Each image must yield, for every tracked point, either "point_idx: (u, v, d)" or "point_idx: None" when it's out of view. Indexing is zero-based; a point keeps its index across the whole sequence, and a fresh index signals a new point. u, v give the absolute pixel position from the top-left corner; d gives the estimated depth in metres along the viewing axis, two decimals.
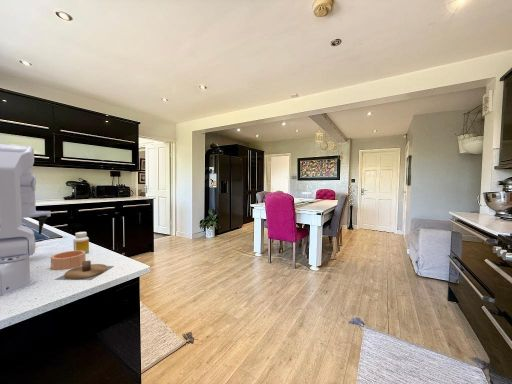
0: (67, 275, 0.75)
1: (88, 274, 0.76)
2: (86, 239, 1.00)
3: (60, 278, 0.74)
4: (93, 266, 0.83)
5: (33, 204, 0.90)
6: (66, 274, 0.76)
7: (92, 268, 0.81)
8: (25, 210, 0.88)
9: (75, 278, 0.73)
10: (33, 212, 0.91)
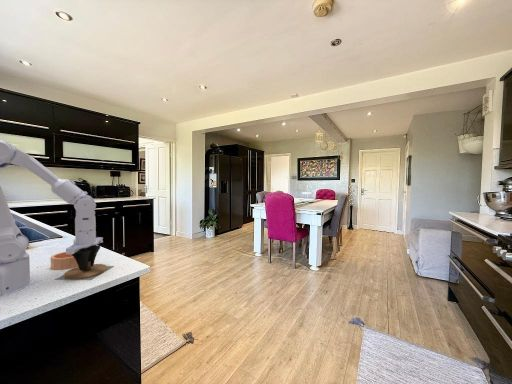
0: (67, 275, 0.75)
1: (88, 274, 0.76)
2: None
3: (60, 278, 0.74)
4: (93, 266, 0.83)
5: (76, 233, 0.76)
6: (66, 274, 0.76)
7: (92, 268, 0.81)
8: None
9: (75, 278, 0.73)
10: None
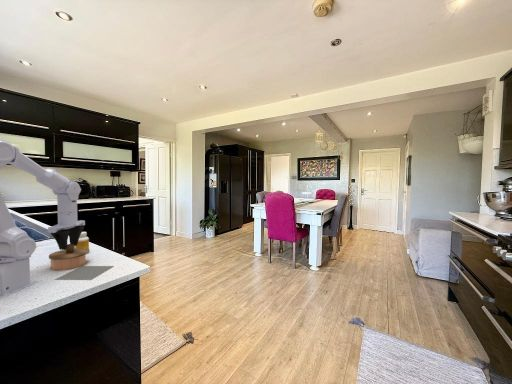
0: (51, 256, 0.82)
1: (70, 255, 0.82)
2: (86, 239, 1.00)
3: (60, 278, 0.74)
4: (77, 249, 0.90)
5: (58, 214, 0.83)
6: (50, 255, 0.83)
7: (75, 251, 0.88)
8: None
9: (57, 258, 0.80)
10: (58, 223, 0.83)
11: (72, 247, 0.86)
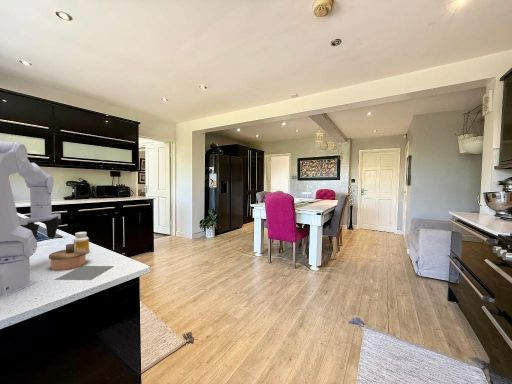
0: (51, 256, 0.82)
1: (70, 255, 0.82)
2: (86, 239, 1.00)
3: (60, 278, 0.74)
4: (77, 249, 0.90)
5: (31, 207, 0.83)
6: (50, 255, 0.83)
7: (75, 251, 0.88)
8: None
9: (57, 258, 0.80)
10: (31, 216, 0.83)
11: (72, 247, 0.86)
